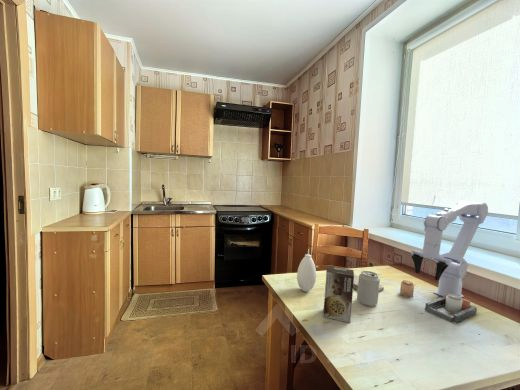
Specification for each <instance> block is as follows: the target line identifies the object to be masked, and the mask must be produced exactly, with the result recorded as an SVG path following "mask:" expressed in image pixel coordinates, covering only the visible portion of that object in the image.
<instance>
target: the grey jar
mask: <svg viewBox="0 0 520 390" xmlns="http://www.w3.org/2000/svg"><path fill="white" fill-rule="evenodd" d="M461 298H462V297H459V296H457V295H453V294H448V295H447V296H446V304H445V305H444V309H445V311H446V312H449V313H452V314H456V313H459V312H461V311H462V302H463V300H462V299H461Z"/></svg>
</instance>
